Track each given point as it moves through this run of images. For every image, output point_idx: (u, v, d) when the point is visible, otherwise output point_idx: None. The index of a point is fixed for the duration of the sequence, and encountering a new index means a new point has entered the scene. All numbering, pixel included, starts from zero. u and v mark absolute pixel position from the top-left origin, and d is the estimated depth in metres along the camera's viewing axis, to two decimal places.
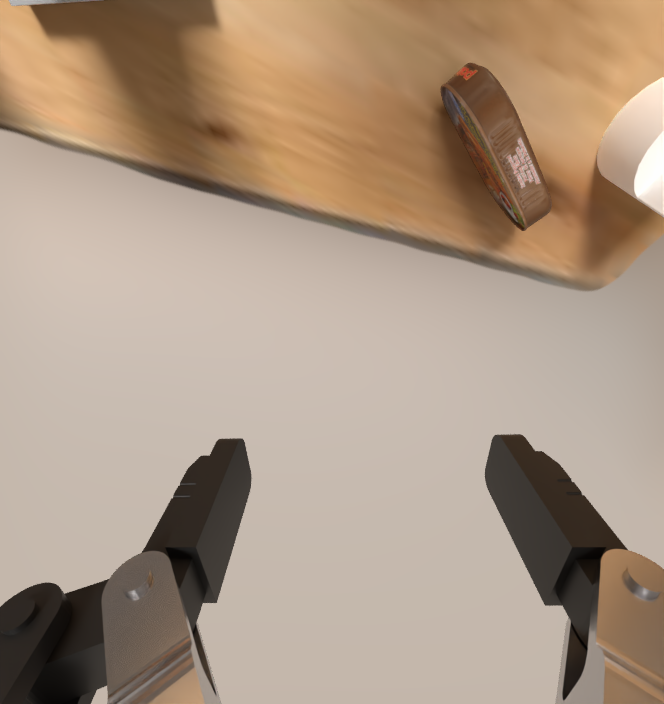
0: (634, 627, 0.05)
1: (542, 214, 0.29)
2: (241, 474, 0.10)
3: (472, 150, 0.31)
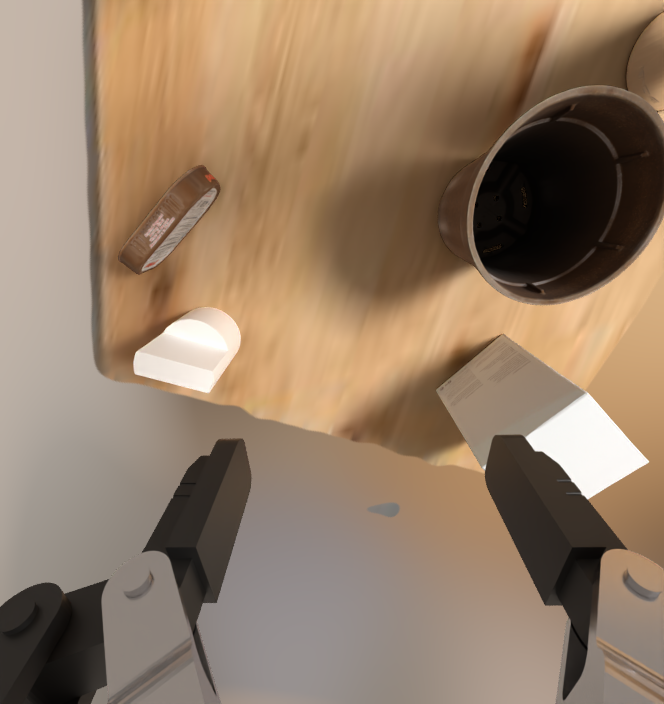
0: (634, 627, 0.05)
1: (132, 264, 0.37)
2: (241, 474, 0.10)
3: None
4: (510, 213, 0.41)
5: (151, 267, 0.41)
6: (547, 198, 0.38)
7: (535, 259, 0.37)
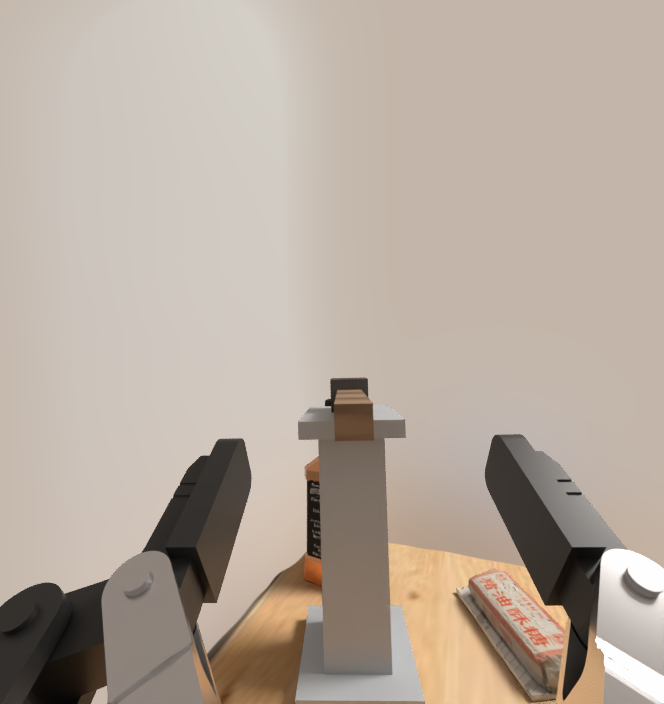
0: (634, 627, 0.05)
1: None
2: (241, 474, 0.10)
3: None
4: None
5: None
6: None
7: None
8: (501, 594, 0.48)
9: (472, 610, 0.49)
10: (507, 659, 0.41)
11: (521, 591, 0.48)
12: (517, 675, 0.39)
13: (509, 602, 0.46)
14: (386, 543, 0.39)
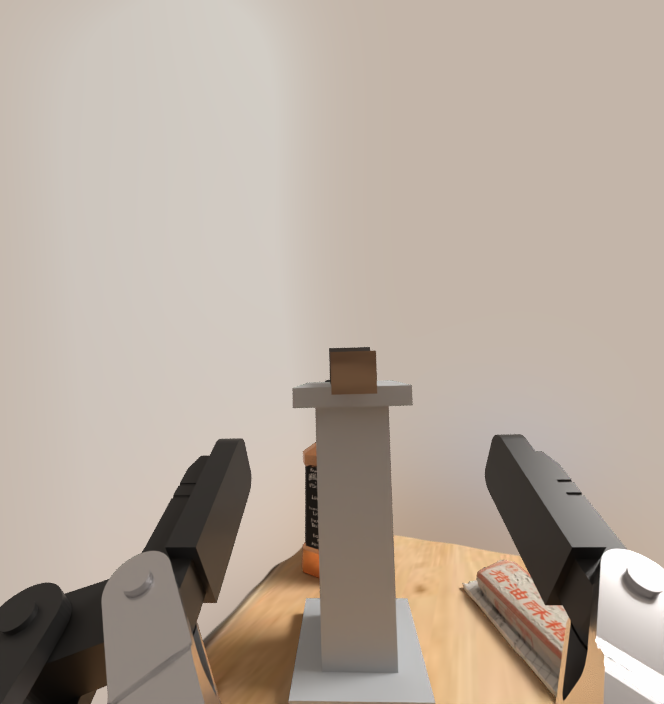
0: (634, 627, 0.05)
1: None
2: (241, 474, 0.10)
3: None
4: None
5: None
6: None
7: None
8: (514, 586, 0.43)
9: (483, 606, 0.45)
10: (529, 659, 0.36)
11: None
12: (542, 676, 0.34)
13: (525, 595, 0.42)
14: (391, 525, 0.35)
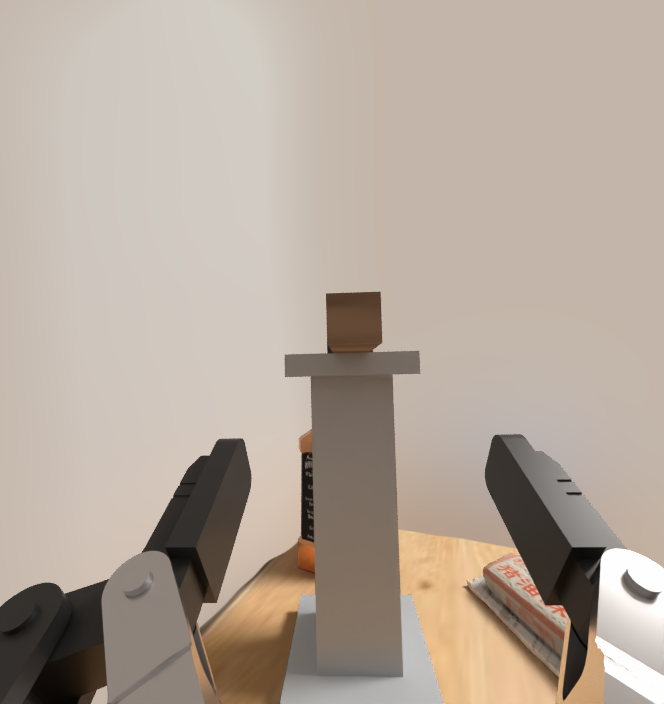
0: (634, 627, 0.05)
1: None
2: (241, 474, 0.10)
3: None
4: None
5: None
6: None
7: None
8: (527, 582, 0.40)
9: (492, 605, 0.41)
10: (552, 663, 0.32)
11: None
12: None
13: None
14: (395, 511, 0.31)
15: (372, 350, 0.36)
